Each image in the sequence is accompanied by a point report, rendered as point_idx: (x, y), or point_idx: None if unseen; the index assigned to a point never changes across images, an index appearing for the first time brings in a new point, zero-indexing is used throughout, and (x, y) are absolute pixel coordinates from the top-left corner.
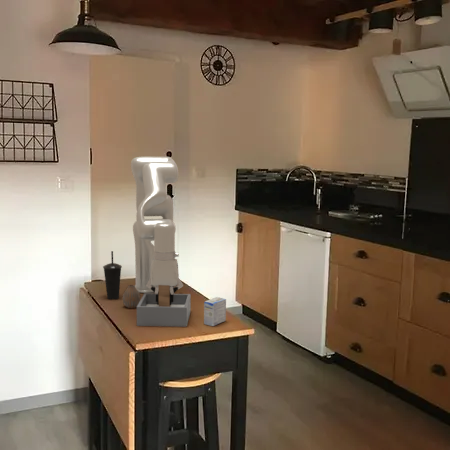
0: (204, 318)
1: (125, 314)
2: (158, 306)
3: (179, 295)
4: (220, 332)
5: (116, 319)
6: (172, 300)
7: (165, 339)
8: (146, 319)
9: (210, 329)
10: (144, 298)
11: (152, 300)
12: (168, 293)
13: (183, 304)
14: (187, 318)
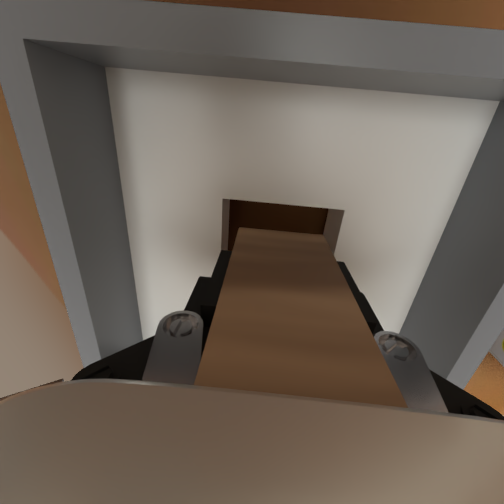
0: (494, 356)
1: (19, 149)
2: (223, 154)
3: (486, 80)
4: (498, 411)
5: (16, 241)
6: None
7: None
8: None
9: (471, 385)
10: (71, 217)
11: (144, 63)
12: None
13: (458, 97)
14: None
